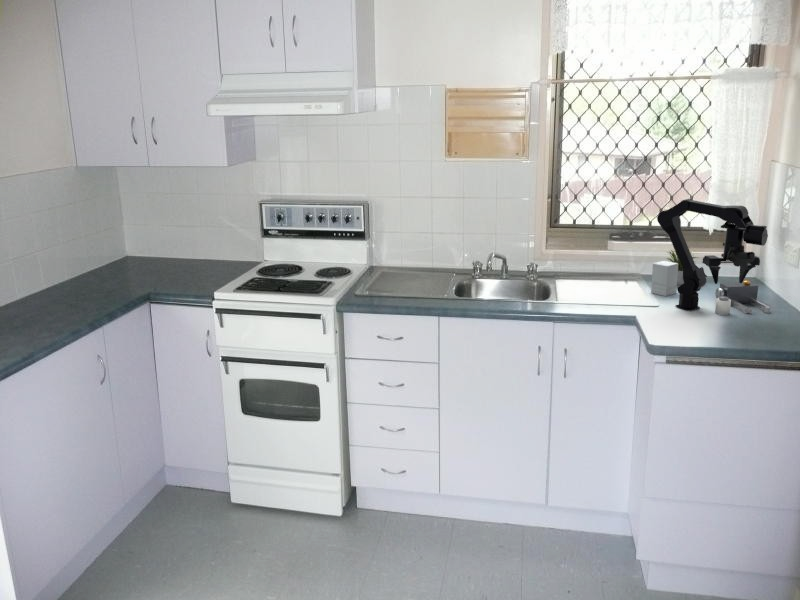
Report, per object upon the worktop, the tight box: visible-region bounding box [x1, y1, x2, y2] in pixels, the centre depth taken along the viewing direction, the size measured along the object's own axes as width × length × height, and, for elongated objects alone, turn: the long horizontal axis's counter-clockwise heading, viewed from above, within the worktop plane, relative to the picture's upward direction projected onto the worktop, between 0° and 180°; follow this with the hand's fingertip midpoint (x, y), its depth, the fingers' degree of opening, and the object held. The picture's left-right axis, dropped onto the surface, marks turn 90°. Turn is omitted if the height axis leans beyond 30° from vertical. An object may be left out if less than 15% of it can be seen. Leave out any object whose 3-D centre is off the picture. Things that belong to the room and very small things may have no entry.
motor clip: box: [714, 279, 771, 315], centre depth 271 cm, size 14×18×8 cm
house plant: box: [666, 248, 700, 286], centre depth 303 cm, size 14×14×16 cm
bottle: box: [714, 296, 732, 316], centre depth 264 cm, size 5×5×6 cm
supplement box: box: [650, 260, 678, 297], centre depth 291 cm, size 7×7×13 cm
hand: (728, 283), depth 260 cm, fingers open, 9 cm apart
